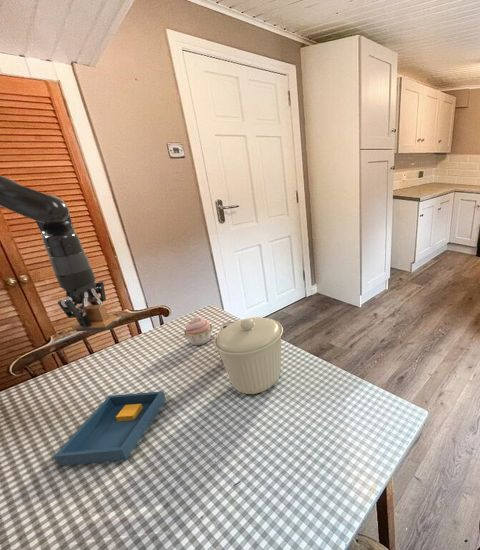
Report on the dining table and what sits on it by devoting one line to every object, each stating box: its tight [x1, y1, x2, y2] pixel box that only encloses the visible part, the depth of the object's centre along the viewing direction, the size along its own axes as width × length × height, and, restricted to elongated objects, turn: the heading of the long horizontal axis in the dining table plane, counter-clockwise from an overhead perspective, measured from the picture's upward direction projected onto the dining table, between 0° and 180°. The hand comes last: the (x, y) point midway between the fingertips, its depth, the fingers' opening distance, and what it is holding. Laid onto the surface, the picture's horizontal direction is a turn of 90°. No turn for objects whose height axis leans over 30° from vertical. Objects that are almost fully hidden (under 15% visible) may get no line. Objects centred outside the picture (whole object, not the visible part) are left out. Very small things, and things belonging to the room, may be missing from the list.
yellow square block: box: [116, 404, 143, 421], centre depth 78 cm, size 4×4×2 cm
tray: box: [53, 390, 167, 468], centre depth 74 cm, size 14×18×4 cm
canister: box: [213, 316, 284, 395], centre depth 86 cm, size 18×18×21 cm
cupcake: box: [183, 316, 213, 346], centre depth 108 cm, size 9×9×10 cm
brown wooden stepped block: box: [70, 304, 117, 333], centre depth 89 cm, size 9×5×7 cm, turn 96°
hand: (93, 321), depth 90 cm, fingers closed on brown wooden stepped block, 5 cm apart
